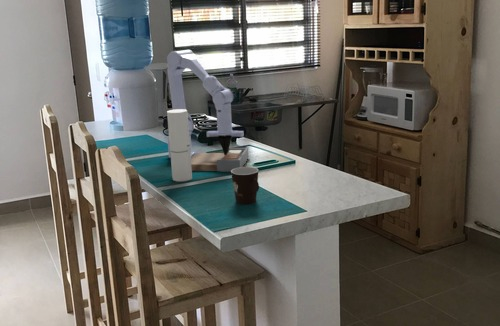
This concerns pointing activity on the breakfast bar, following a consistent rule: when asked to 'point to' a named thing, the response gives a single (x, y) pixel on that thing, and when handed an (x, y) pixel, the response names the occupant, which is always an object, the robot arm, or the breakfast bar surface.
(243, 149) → the box
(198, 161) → the walnut board
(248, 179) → the coffee mug
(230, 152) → the cream tile
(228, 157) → the terracotta tile
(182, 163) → the cylindrical container
